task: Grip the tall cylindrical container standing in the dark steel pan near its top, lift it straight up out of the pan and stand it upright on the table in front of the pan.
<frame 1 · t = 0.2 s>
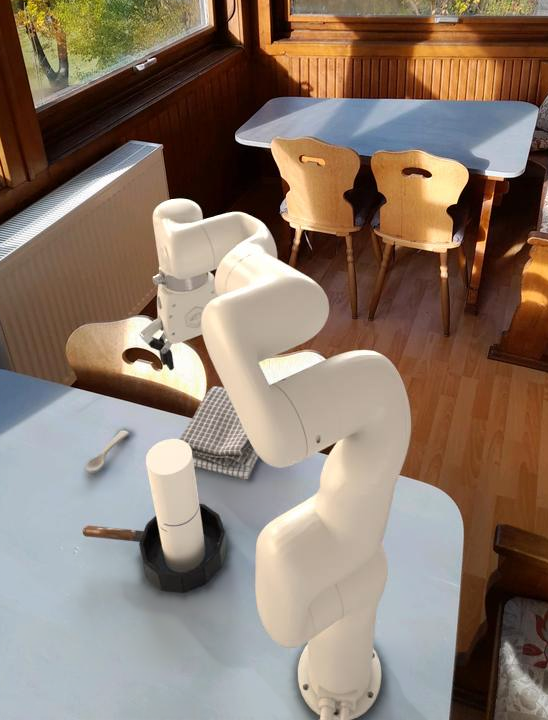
hand: (194, 355, 116), 31 cm above the table, tool pointing down, fingers open, 9 cm apart
cylindrical container: (185, 554, 118), resting in pan
pan: (185, 553, 118), on the table
towel: (229, 441, 140), on the table
spoon: (108, 454, 137), on the table
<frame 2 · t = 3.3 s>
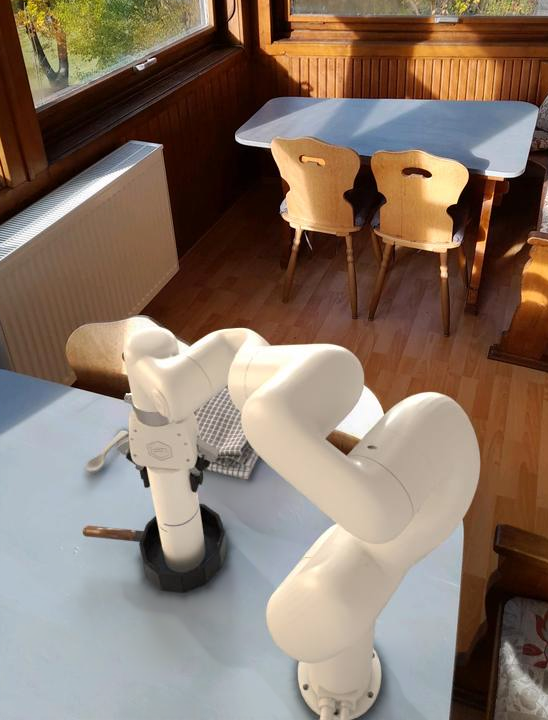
hand: (173, 482, 108), 19 cm above the table, tool pointing down, fingers closed on cylindrical container, 7 cm apart
cylindrical container: (185, 554, 118), resting in pan, touching gripper
everything else where it was.
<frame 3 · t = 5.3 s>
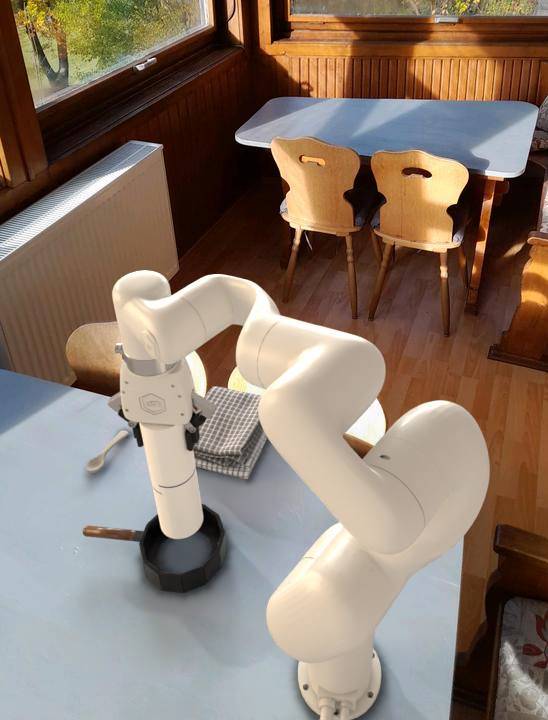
hand: (168, 441, 103), 29 cm above the table, tool pointing down, fingers closed on cylindrical container, 7 cm apart
cylindrical container: (182, 520, 112), point 9 cm above the table, touching gripper
everything else where it was.
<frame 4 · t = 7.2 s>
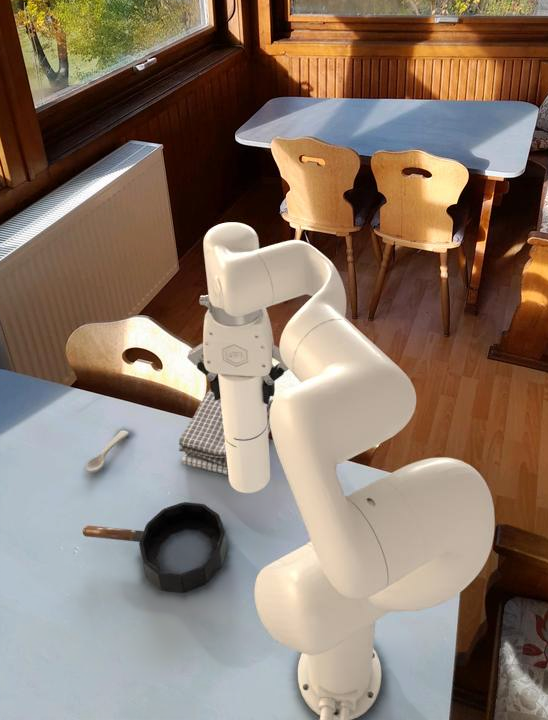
hand: (243, 395, 105), 33 cm above the table, tool pointing down, fingers closed on cylindrical container, 7 cm apart
cylindrical container: (249, 476, 115), point 14 cm above the table, touching gripper
everything else where it was.
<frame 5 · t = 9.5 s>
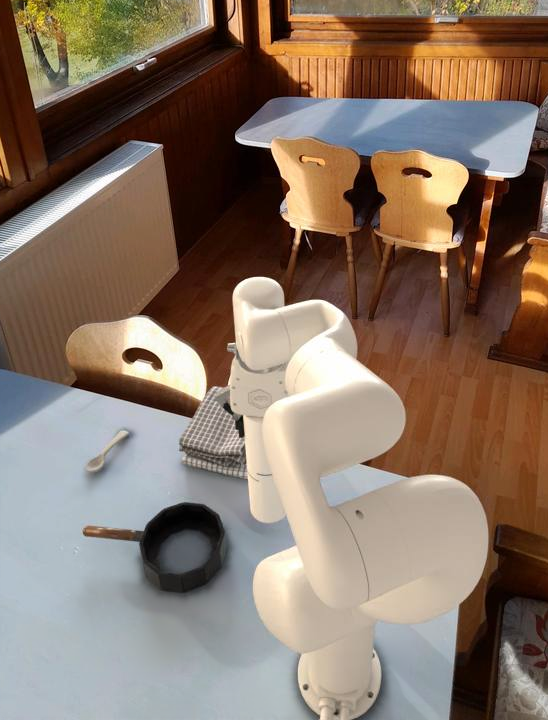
hand: (266, 433, 111), 23 cm above the table, tool pointing down, fingers closed on cylindrical container, 7 cm apart
cylindrical container: (270, 506, 121), point 4 cm above the table, touching gripper
everything else where it was.
when the fingers open (19 cm above the table, at t = 11.1 s): cylindrical container stays where it is, on the table.
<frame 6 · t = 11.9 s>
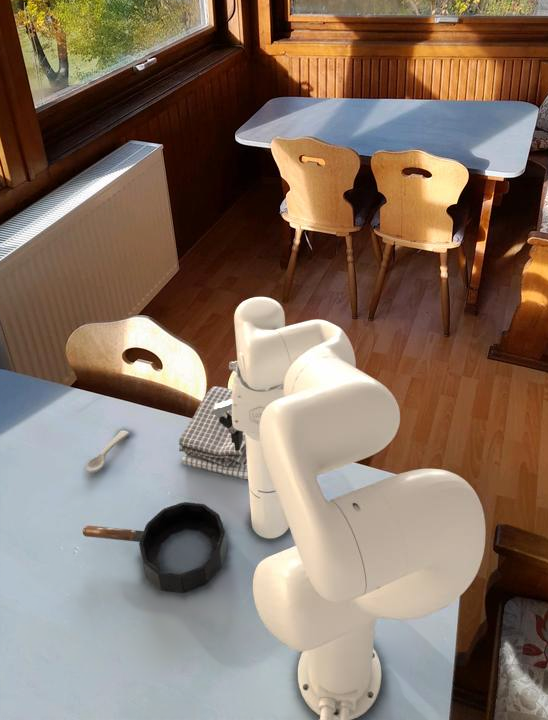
hand: (267, 446, 113), 20 cm above the table, tool pointing down, fingers open, 9 cm apart
cylindrical container: (271, 521, 123), on the table
everything else where it was.
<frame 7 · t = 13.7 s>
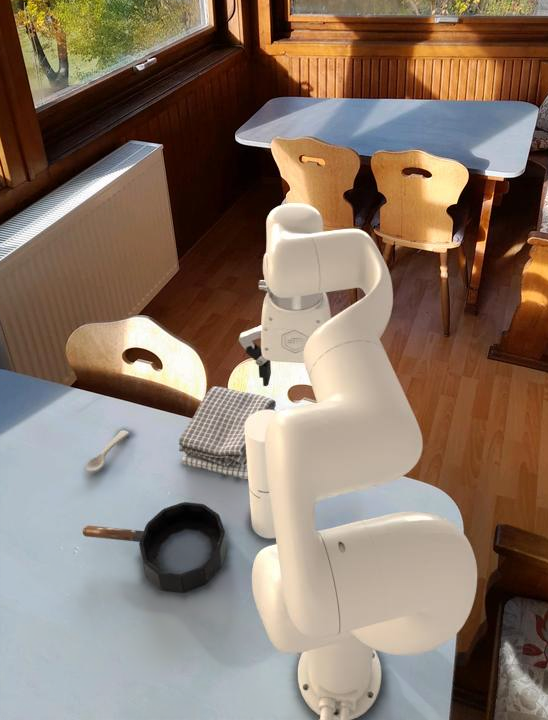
hand: (298, 381, 102), 37 cm above the table, tool pointing down, fingers open, 9 cm apart
nothing on the table moved.
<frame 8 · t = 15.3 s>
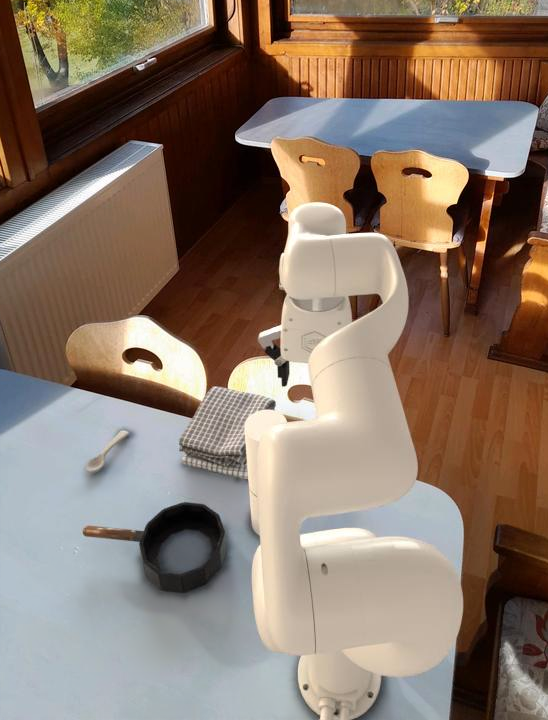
hand: (317, 382, 100), 38 cm above the table, tool pointing down, fingers open, 9 cm apart
nothing on the table moved.
at the end: cylindrical container inside the target area (0.1 cm from its centre), on the table; cylindrical container tilted 0°; cylindrical container touching table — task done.
